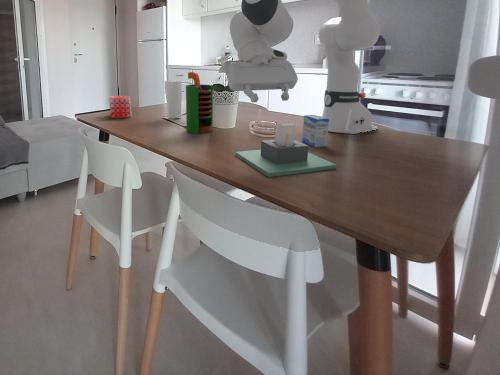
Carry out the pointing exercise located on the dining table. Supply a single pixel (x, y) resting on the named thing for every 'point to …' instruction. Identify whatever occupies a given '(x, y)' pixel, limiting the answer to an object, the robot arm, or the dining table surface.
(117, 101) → the puzzle cube
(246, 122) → the dining table surface
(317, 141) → the medicine box
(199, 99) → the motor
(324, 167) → the socket board
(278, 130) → the keyed plug
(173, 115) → the drinking glass
